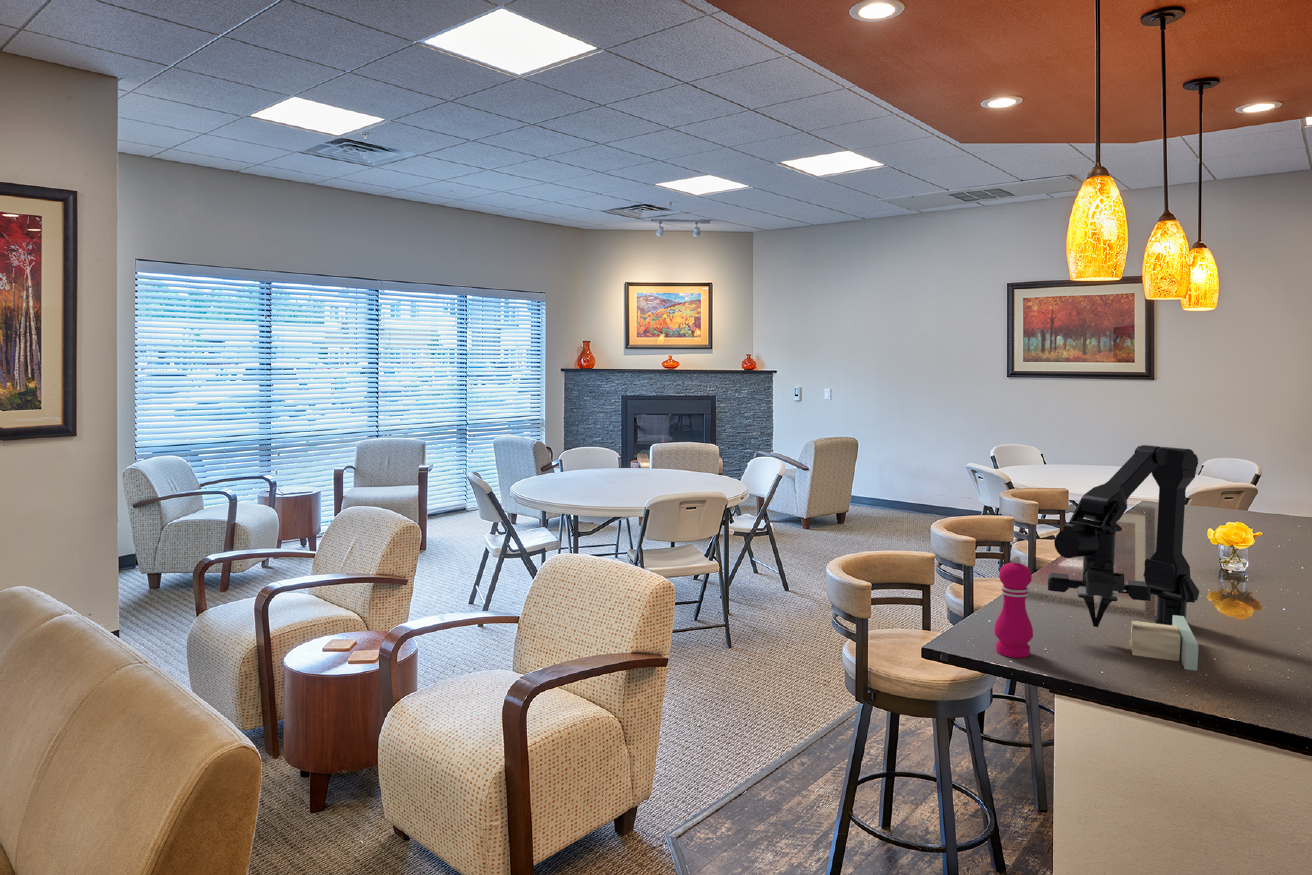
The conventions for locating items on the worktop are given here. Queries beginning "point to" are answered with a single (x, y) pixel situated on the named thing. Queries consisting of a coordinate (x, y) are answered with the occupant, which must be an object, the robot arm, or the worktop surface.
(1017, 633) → the pepper mill
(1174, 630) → the maple block
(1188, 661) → the sage board
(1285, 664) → the worktop surface
